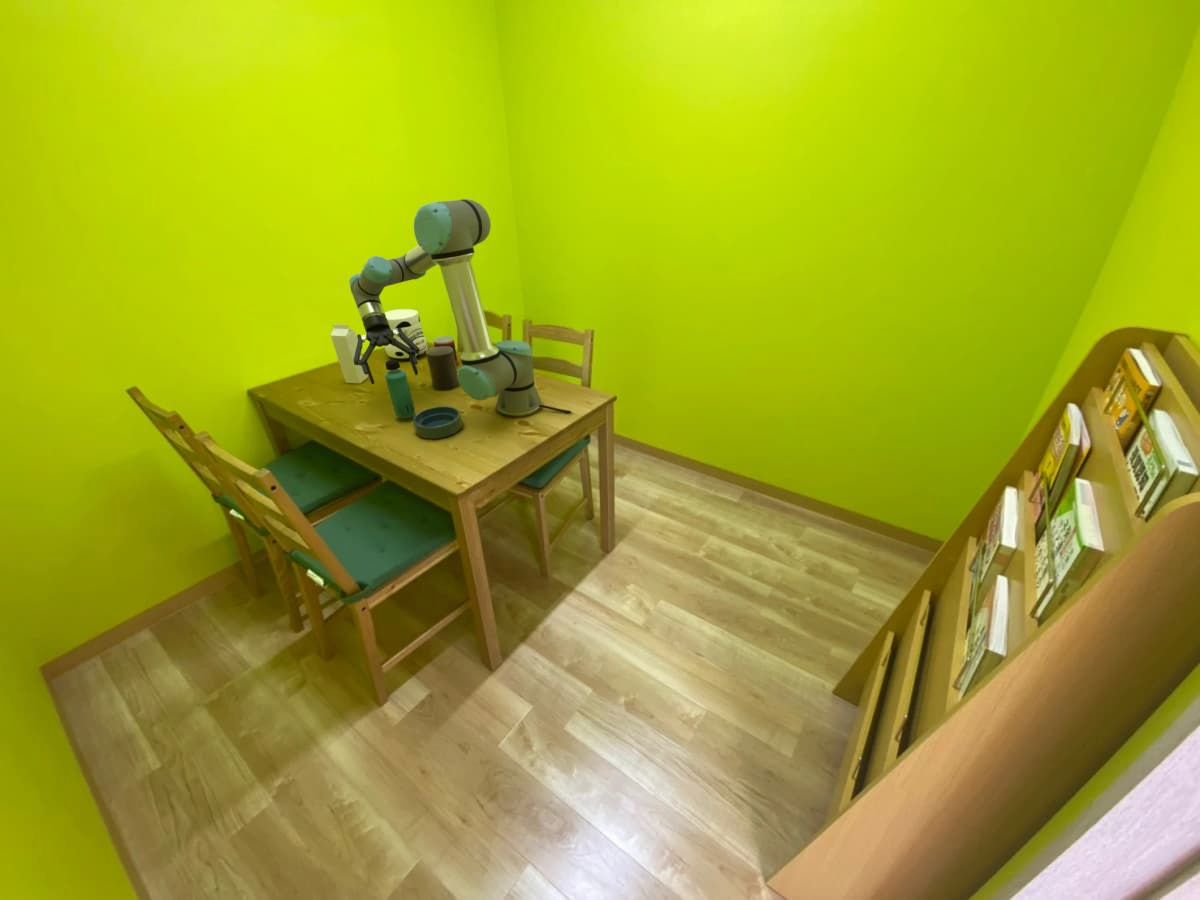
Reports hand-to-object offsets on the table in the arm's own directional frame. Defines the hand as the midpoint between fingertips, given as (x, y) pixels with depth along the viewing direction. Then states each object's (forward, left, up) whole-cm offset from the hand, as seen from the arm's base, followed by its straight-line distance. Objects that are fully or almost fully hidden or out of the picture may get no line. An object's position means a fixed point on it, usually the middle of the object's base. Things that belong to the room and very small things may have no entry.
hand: (395, 377), depth 154 cm
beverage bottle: (-1, +2, -14) cm, 14 cm away
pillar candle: (-8, -24, -14) cm, 28 cm away
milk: (+28, -30, -14) cm, 43 cm away
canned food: (-4, -44, -14) cm, 46 cm away
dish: (-14, +10, -13) cm, 22 cm away
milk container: (+16, -56, -14) cm, 59 cm away
